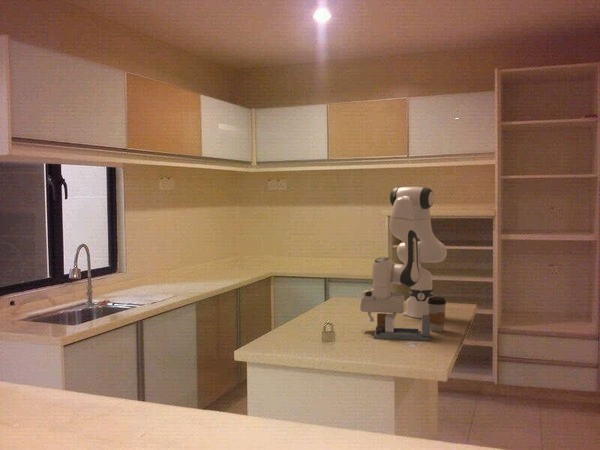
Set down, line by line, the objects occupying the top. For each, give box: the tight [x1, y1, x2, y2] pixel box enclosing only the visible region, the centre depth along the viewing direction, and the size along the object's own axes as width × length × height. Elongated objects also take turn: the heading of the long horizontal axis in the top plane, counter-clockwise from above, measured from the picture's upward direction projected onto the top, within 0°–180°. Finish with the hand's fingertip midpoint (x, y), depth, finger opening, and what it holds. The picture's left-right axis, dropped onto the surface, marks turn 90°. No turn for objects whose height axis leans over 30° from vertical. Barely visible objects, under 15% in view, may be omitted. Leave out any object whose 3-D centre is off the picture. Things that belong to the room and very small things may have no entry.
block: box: [376, 312, 388, 327], centre depth 272 cm, size 4×4×8 cm
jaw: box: [375, 313, 396, 333], centre depth 260 cm, size 9×8×7 cm
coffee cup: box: [428, 296, 447, 333], centre depth 269 cm, size 8×8×15 cm
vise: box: [373, 315, 431, 342], centre depth 258 cm, size 12×24×9 cm, turn 76°
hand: (382, 321), depth 271 cm, fingers open, 8 cm apart
